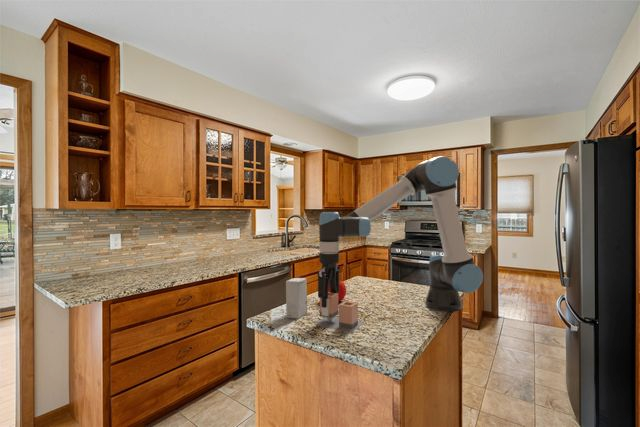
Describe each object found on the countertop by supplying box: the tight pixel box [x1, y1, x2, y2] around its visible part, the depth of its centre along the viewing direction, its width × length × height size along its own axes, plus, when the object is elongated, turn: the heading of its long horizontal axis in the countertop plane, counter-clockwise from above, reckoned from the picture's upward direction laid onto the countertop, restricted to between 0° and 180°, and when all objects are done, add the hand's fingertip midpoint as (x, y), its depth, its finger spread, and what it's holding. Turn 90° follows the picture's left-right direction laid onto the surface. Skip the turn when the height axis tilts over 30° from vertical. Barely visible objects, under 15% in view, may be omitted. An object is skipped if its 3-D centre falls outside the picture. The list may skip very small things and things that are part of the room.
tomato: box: [328, 280, 347, 303], centre depth 146 cm, size 12×12×10 cm
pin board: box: [313, 316, 365, 334], centre depth 116 cm, size 16×11×6 cm
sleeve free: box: [319, 292, 339, 318], centre depth 118 cm, size 5×5×8 cm
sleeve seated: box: [338, 300, 359, 329], centre depth 114 cm, size 5×5×8 cm
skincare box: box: [285, 277, 308, 320], centre depth 127 cm, size 8×6×15 cm
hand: (329, 313), depth 118 cm, fingers closed on sleeve free, 5 cm apart
